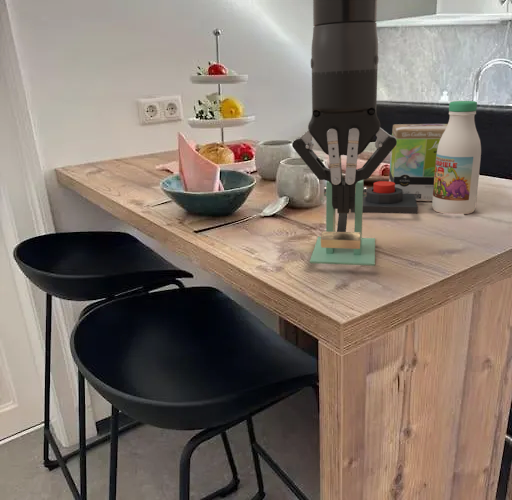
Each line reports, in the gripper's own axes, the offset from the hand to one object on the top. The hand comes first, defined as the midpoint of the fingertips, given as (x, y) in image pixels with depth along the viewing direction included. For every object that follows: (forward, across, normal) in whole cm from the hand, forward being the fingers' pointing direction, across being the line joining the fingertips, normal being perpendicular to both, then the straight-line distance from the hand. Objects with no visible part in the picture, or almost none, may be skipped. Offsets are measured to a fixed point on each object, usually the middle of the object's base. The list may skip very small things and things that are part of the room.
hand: (343, 211), depth 64 cm
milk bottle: (+10, -19, -36) cm, 42 cm away
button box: (+10, -6, -35) cm, 37 cm away
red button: (+6, -6, -35) cm, 36 cm away
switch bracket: (+10, 0, -9) cm, 13 cm away
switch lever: (+3, 0, -5) cm, 6 cm away
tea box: (+10, -15, -46) cm, 49 cm away
